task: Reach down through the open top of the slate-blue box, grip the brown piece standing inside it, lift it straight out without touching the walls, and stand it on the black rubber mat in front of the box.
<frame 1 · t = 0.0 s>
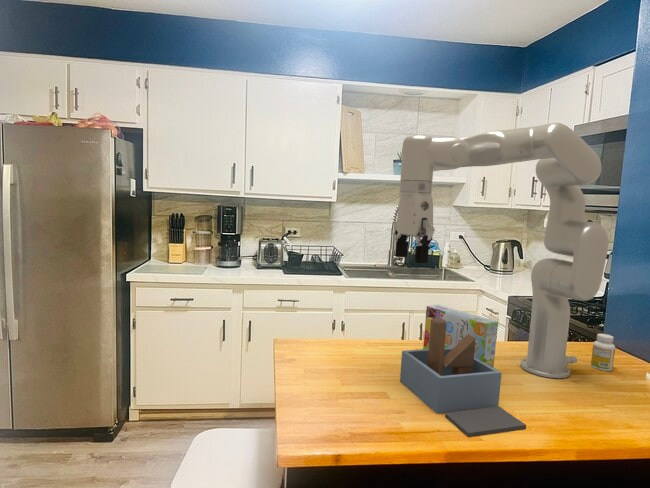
hand: (410, 259, 105), 31 cm above the kitchen island, tool pointing down, fingers open, 9 cm apart
supplement bottle: (601, 368, 126), on the kitchen island
brown piece: (446, 394, 103), resting in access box
place mat: (484, 422, 90), on the kitchen island
snack box: (455, 364, 123), on the kitchen island
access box: (446, 393, 103), on the kitchen island
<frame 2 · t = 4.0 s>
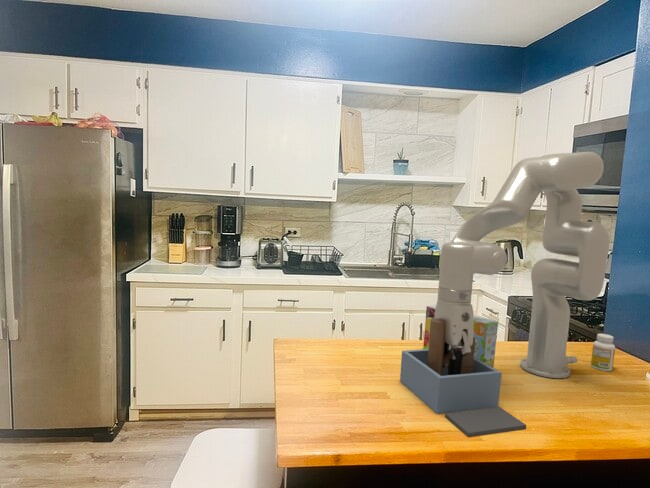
hand: (448, 369, 103), 6 cm above the kitchen island, tool pointing down, fingers closed on brown piece, 4 cm apart
brown piece: (446, 394, 103), resting in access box, touching gripper
everything else where it was.
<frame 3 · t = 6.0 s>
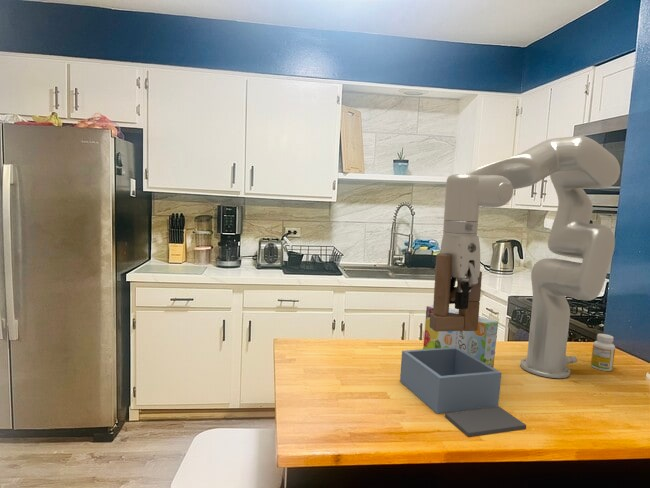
hand: (455, 305, 101), 22 cm above the kitchen island, tool pointing down, fingers closed on brown piece, 4 cm apart
brown piece: (453, 330, 102), point 15 cm above the kitchen island, touching gripper
everything else where it was.
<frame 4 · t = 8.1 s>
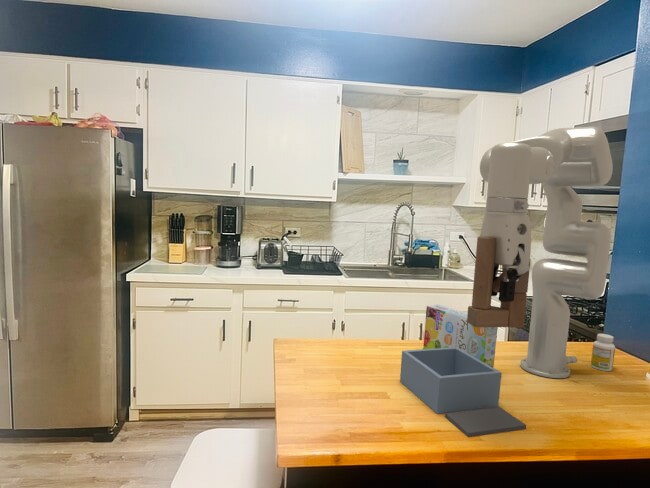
hand: (497, 297, 87), 27 cm above the kitchen island, tool pointing down, fingers closed on brown piece, 4 cm apart
brown piece: (494, 326, 88), point 21 cm above the kitchen island, touching gripper
everything else where it was.
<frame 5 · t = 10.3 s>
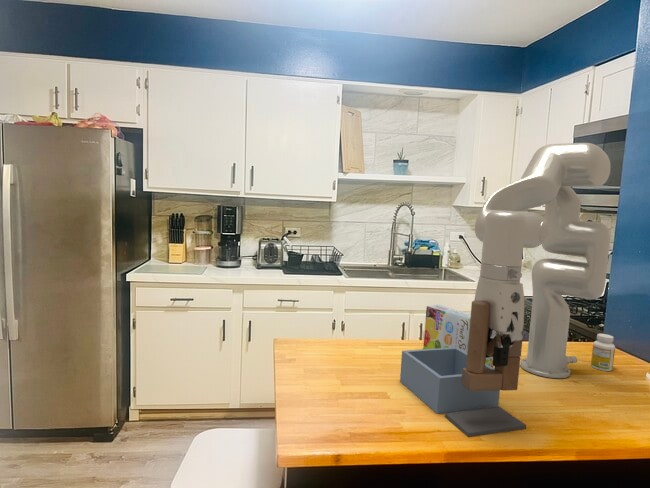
hand: (491, 360, 88), 14 cm above the kitchen island, tool pointing down, fingers closed on brown piece, 4 cm apart
brown piece: (488, 388, 89), point 8 cm above the kitchen island, touching gripper
everything else where it was.
when the fingers open (8 cm above the kitchen island, at t = 12.2 s): brown piece drops 1 cm, resting on place mat.
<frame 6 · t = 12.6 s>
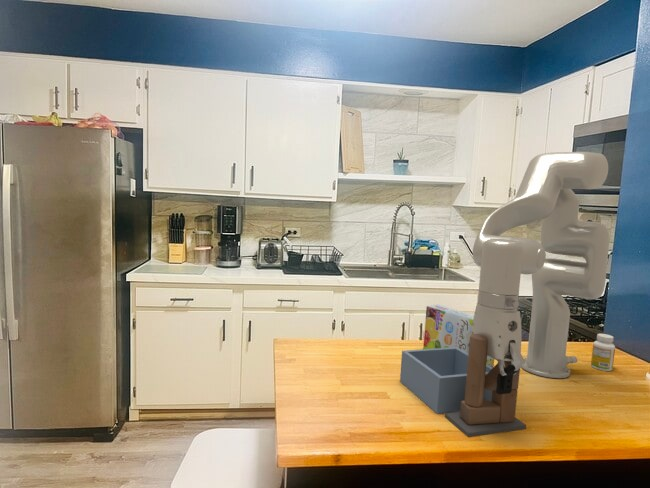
hand: (489, 383, 89), 9 cm above the kitchen island, tool pointing down, fingers open, 7 cm apart
brown piece: (486, 420, 90), point 1 cm above the kitchen island, touching place mat
everything else where it was.
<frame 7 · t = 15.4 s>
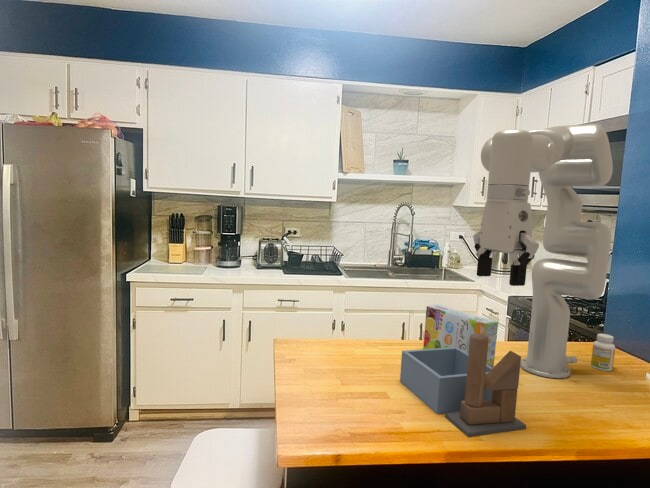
hand: (499, 280, 87), 30 cm above the kitchen island, tool pointing down, fingers open, 9 cm apart
nothing on the kitchen island moved.
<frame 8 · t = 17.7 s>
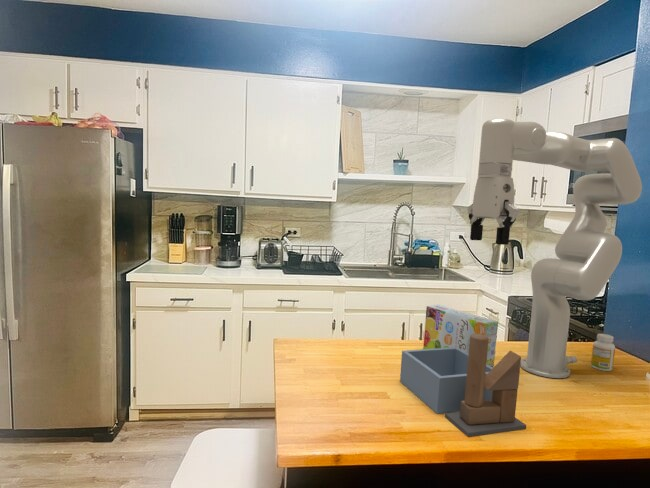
hand: (488, 242, 106), 36 cm above the kitchen island, tool pointing down, fingers open, 9 cm apart
nothing on the kitchen island moved.
at the end: brown piece inside the target area on the place mat (0.4 cm from its centre), point 0.6 cm above the place mat's base; brown piece tilted 0°; brown piece touching place mat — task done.
